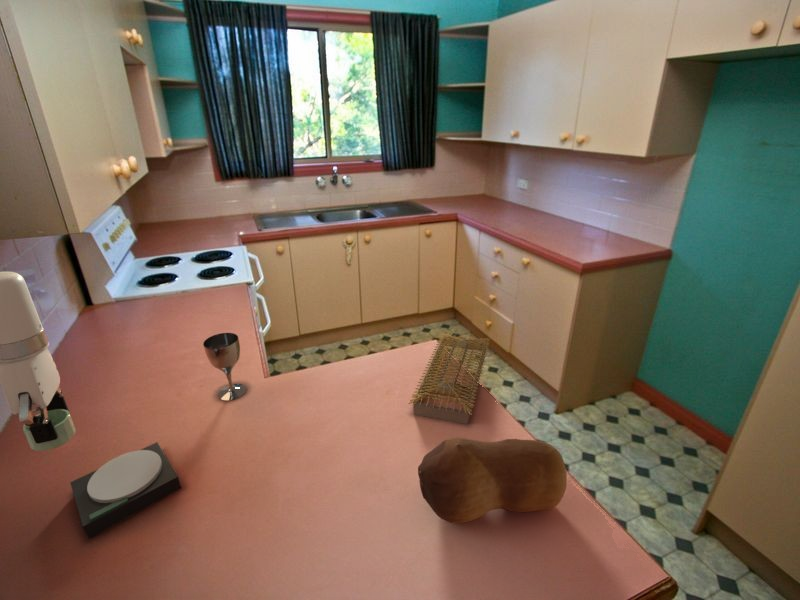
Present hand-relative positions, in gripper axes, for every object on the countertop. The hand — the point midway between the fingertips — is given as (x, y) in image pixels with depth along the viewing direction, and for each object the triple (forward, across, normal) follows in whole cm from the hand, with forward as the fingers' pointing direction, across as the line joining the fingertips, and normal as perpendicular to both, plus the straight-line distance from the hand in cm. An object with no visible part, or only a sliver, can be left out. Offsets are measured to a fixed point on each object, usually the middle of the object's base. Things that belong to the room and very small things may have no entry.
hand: (53, 426), depth 79 cm
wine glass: (+12, -16, +31) cm, 37 cm away
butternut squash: (+4, +35, +59) cm, 69 cm away
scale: (+12, +9, +11) cm, 18 cm away
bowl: (+3, 0, -1) cm, 3 cm away
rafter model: (+11, +3, +84) cm, 85 cm away
